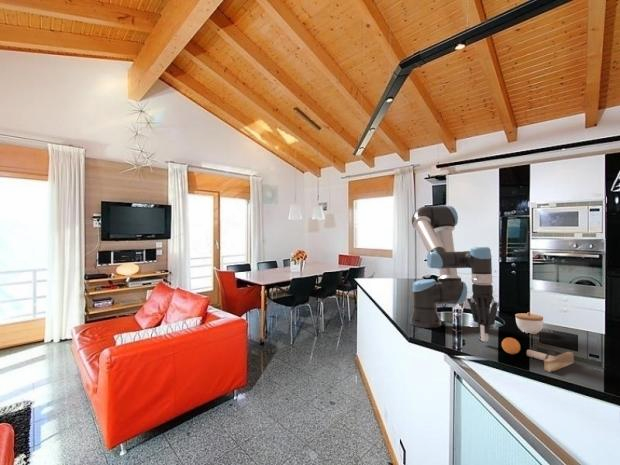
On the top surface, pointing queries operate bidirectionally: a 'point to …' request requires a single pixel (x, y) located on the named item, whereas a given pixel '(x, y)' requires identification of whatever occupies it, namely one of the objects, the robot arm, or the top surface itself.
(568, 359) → the wall
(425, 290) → the robot arm
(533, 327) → the lidded jar
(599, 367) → the top surface
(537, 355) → the pin
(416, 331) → the top surface
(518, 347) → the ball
